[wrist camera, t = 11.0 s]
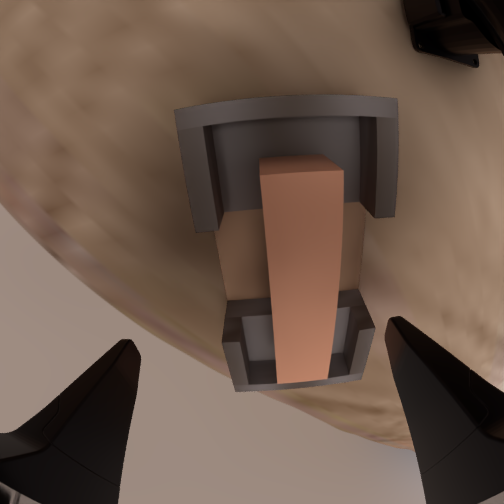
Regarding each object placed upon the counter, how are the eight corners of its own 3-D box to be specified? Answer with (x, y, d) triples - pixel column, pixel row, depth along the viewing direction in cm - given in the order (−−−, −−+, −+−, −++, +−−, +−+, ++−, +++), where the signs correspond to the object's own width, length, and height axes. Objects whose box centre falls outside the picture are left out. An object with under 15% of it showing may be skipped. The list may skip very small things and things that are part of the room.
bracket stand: (359, 98, 15) (397, 98, 10) (347, 334, 25) (361, 379, 20) (198, 108, 16) (173, 110, 11) (238, 344, 26) (235, 391, 21)
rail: (259, 158, 15) (259, 175, 11) (322, 154, 14) (343, 170, 11) (275, 342, 21) (277, 383, 18) (319, 338, 21) (327, 378, 18)
